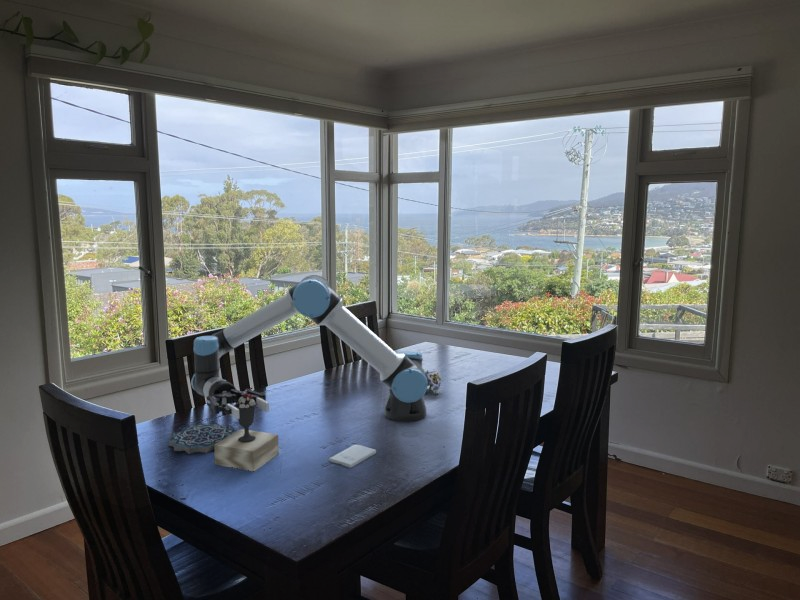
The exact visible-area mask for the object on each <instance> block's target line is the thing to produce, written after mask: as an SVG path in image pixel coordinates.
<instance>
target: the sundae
mask: <svg viewBox="0 0 800 600" xmlns="http://www.w3.org/2000/svg"><path fill="white" fill-rule="evenodd" d="M248 389H249V390H250V391H251V390H253V387H249V388H248ZM248 392H249V391H248ZM248 392H247V393H248ZM247 393H245V394H244V395H243V396H241V397H240V398H239V401H238V403H237V402H236V400H234V401H235V402H236V403H234V405H233V406H234V407H236V408H238V409H239V419H237V421H238V423H239V424H238V425H240V426H241V427H242V428H243V429H245V433H244V436H242V437H240V438H239V439H238V440H239V441H242V442H248V441H252V440H254V439H255V438H256V437H255V436H251V435H250V434H249V430H250V429H249V428H250V427H251V426H252V425H253V423H254V420H255V411H256V407H257V404H256V403H255V401H254V400H253V399H252V395H251V394H250V395H249V396H248V394H247Z"/></svg>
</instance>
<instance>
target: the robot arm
mask: <svg viewBox="0 0 800 600" xmlns="http://www.w3.org/2000/svg"><path fill="white" fill-rule="evenodd" d="M343 303H344V302H343V298H342V297H341V296H340V295H339V294H338V293H337V292H336V291H335V290H333V289H332V286H331V284H330V282H329V281H328V279H326V277H323V276H320V275H318V274H310V275H308V276H305V277H304V278H302V280H301V281H299V282H298V283H297V284H296V285H294V286H292V287H290V288H289V289H287V292H286V294H283V295H282V296H280V297H279V298H277V299H275V300H273V301H271V302H270V303H268V304H266V305H264V306H262V307H261V308H259V309H257V310H255V311H254V312H252V313H250V314H249V315H246V316H244V317H243V318H241V319H239V320H238V321H235V322H234V323H232V324H231V325H229V326H226V327H224V328H223V329H222V330H220V331H217V332H215V333H213V334H211V335H202V336H198V337H196V338H195V339H194V340H193V348H192V349H193V358H194V359H193V360H194V362H193V363H194V374H193V375H192V377H191V380H190V385H191V388H192V389H193V390H194V391H195V392H196V394H198V395H200V396H202V397H205V398H206V406H208V407H210V409H211V410H212V411H213V412H214V414H215V415H218V414H220V413H221V416H225V417H226V416H231V417H233V418H234V419H236V420H238V419H239V409H238V408H236V407H234V405H233V404H236V402H237V403H238V401H239V398H240V397H241V396H243V395H244V394H245V393H247V392H248V391H249V392H248V393H247V394H248V396H249V395H250V394H251V395H252V399H253V400H254V401H255V403H256V404H257V406H256V407H257V408H258V409H260V410H262V411H263V412H266V413H269V412H270V402H269V401H267V397H266V393H265V394H264V393H261V392H258V391H254V390H253V389H250V388H245V390H244V391H241V390H238V389H237V388H236V386H235V385H234V384H232V383H231V382H229V381H227V380H226V379H223V378H222V377H220V358H221V357H222V356H223V355H225V354H227V353H228V352H231V351H232V350H234V349H236V348H237V347H239V346H240V345H243V344H244V343H247V342H248V341H251V339H253V338H255V337H257V336H259V335H261V334H263V333H265V332H266V331H268V330H270V329H272V328H273V327H276V326H277V325H278V324H281V323H282V322H284V321H286V320H288V319H289V318H292V317H293V316H295V315H297V314H301V315H302V316H304V317H306V318H309V319H310V320H312V322H313V323H315V324H316V325H317V326H325V327H326V328H328V329H329V330H330V331H331V332H332V333H333V334H334V335H336V336H337V337H338V338H339V339H340V340H341V341H343V342H344V343H345V344H346V345H347V346H348V347H349V348H351V349H352V350H353V351H354V352H355V353H356V354H357V355H358V356H359V357H361V358H362V359H363V360H364V361H365V362H366V363H368V365H370V366H371V367H372V368H373V369H374V370H375V371H377V372H378V373H379V380H380V381H381V382H382V383H384V384H385V386H387V387H388V389H389V392H388V393H389V394H388V397H387V399H386V403H385V405H384V407H383V409H384V416H385V418H386V419H389V420H392V421H395V422H396V421H397V422H404V423H405V422H407V423H408V422H416V420H417V421H420V420H423V419H424V418H425V416H427V406H426V404H425V403H426V402H425V400H424V396H425V394H426V392H427V390H428V386H427V385H428V384H427V383H428V380H427V377H426V375H425V373H424V371H425V370H424V371H423V369H424V368H423V354H422V353H421V352H419V351H414V350H413V351H412V350H404V351H403V350H402V351H395V350H393V349H392V347H391V346H389V345H388V344H387V343H386V342H385V341H384V340H383V339H381V338H380V337H379V336H378V335H377V334H376V333H375V332H373V331H372V330H371V329H370V328H369V327H368V326H367V325H365V324H364V323H363V322H362V320H360V319H359V318H358V317H356V316H355V314H353V313H352V312H351V311H350V310H349V309H348V308H346V307H345V306H344V305H343ZM249 389H250V390H251V391H250V390H249ZM234 400H236V402H235V401H234ZM422 418H423V419H422Z"/></svg>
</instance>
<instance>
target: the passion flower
mask: <svg viewBox="0 0 800 600" xmlns="http://www.w3.org/2000/svg"><path fill="white" fill-rule="evenodd" d="M423 371H424V373H425V375H426V377H427V380H428V383H427V384H428V385H427V387H428V390H429V392H431V394H433V395H436V394H437V393H438V394H439V390H441V383H442V382H441V381H442V379H441V377H440V375H439V373H438V372H434V373H433V372H432V371H431V372H430V371H429V370H425V369H424V368H423ZM435 393H436V394H435Z"/></svg>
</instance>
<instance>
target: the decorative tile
mask: <svg viewBox="0 0 800 600" xmlns="http://www.w3.org/2000/svg"><path fill="white" fill-rule="evenodd" d="M237 431H238V430H237V429H233V428H231V426H230V425H220V424H219V423H217V422H216V423H211V424H204V423H200V424H197V425H194V426H187V427H184V428H183V429H182V430H180V431H175V432H172V437H171V438H169V439H168V446H169V447H173V451H174V452H184V451H185V453H187V454H188V455H190V454H195V453H204V452H205V453H204V454H208V453H210V452H211V450H212V451H213V449H214V445H215V444H216V443H218V442H220V441H221V440H223V439H225V438H227V437H228V436H230V435H232V434H233V433H235V432H237ZM209 451H210V452H209ZM194 452H195V453H194ZM207 452H208V453H207Z"/></svg>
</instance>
